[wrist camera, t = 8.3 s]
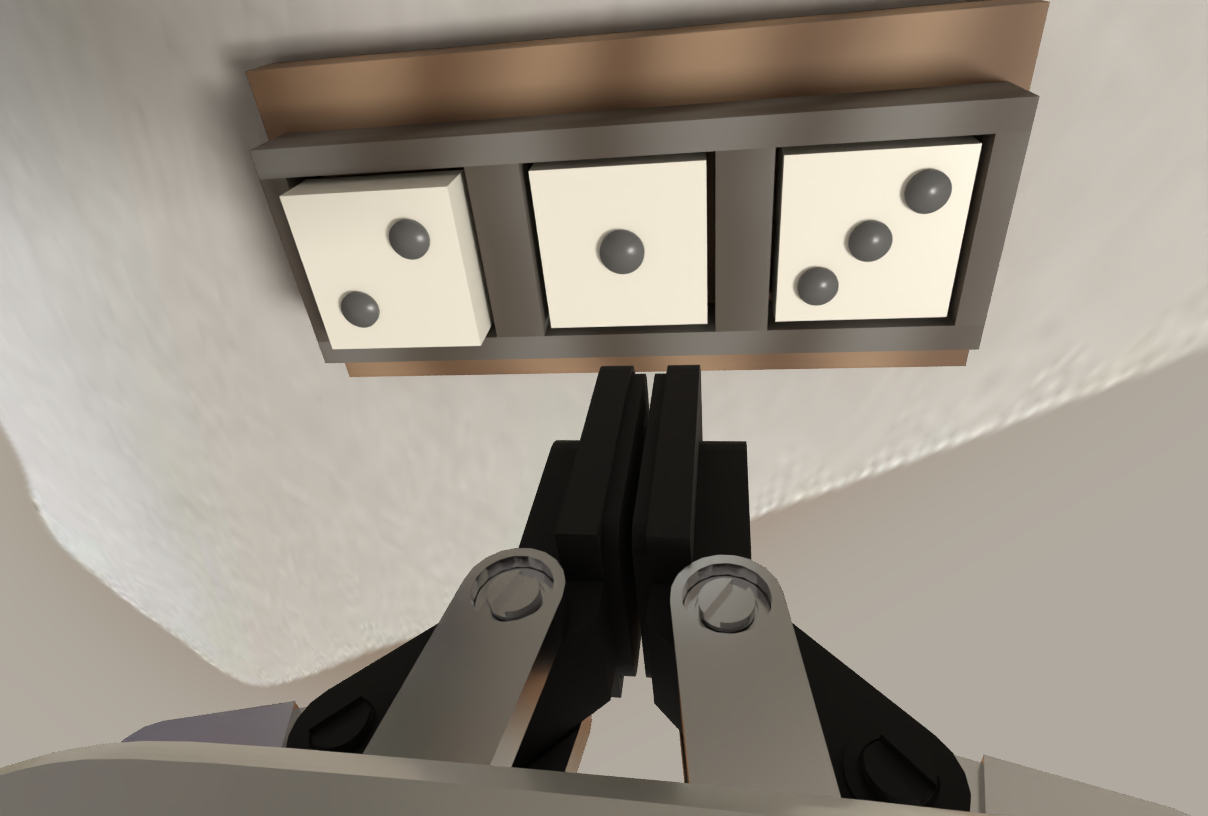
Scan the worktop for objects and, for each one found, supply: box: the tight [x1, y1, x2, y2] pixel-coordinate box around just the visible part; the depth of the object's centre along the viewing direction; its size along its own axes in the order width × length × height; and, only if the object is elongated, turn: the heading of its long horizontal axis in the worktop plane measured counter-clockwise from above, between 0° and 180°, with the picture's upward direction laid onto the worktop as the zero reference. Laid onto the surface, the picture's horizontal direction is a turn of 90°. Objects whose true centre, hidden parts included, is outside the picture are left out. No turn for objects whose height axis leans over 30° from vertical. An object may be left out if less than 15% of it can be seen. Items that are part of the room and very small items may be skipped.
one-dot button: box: [529, 152, 707, 328], centre depth 26 cm, size 6×6×2 cm
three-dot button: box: [771, 135, 982, 322], centre depth 24 cm, size 6×6×2 cm
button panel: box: [246, 0, 1050, 377], centre depth 27 cm, size 27×13×4 cm, turn 95°
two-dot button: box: [279, 170, 494, 349], centre depth 26 cm, size 6×6×2 cm
